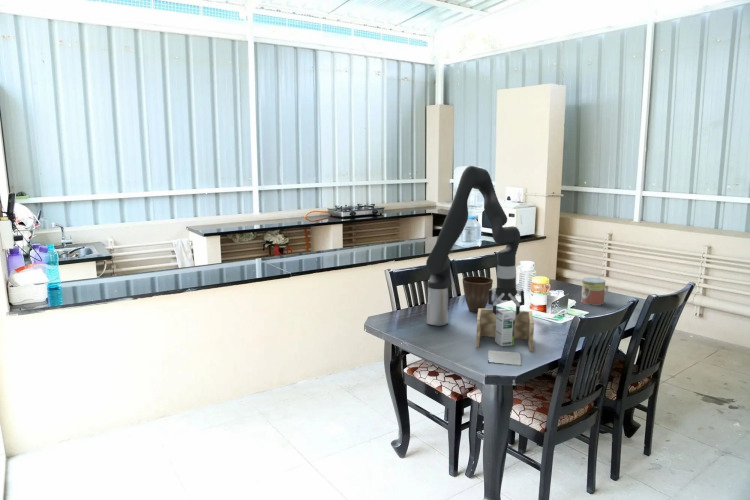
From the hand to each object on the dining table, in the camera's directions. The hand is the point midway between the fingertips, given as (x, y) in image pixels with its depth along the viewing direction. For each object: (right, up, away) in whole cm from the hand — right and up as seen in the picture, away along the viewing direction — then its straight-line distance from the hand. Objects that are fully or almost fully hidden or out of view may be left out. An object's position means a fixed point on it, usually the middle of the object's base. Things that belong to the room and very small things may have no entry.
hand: (506, 314), depth 214 cm
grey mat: (-4, -15, -13) cm, 21 cm away
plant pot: (-2, -4, +49) cm, 49 cm away
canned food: (+61, -1, +63) cm, 88 cm away
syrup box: (0, -13, +2) cm, 13 cm away
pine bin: (0, -12, +3) cm, 13 cm away
